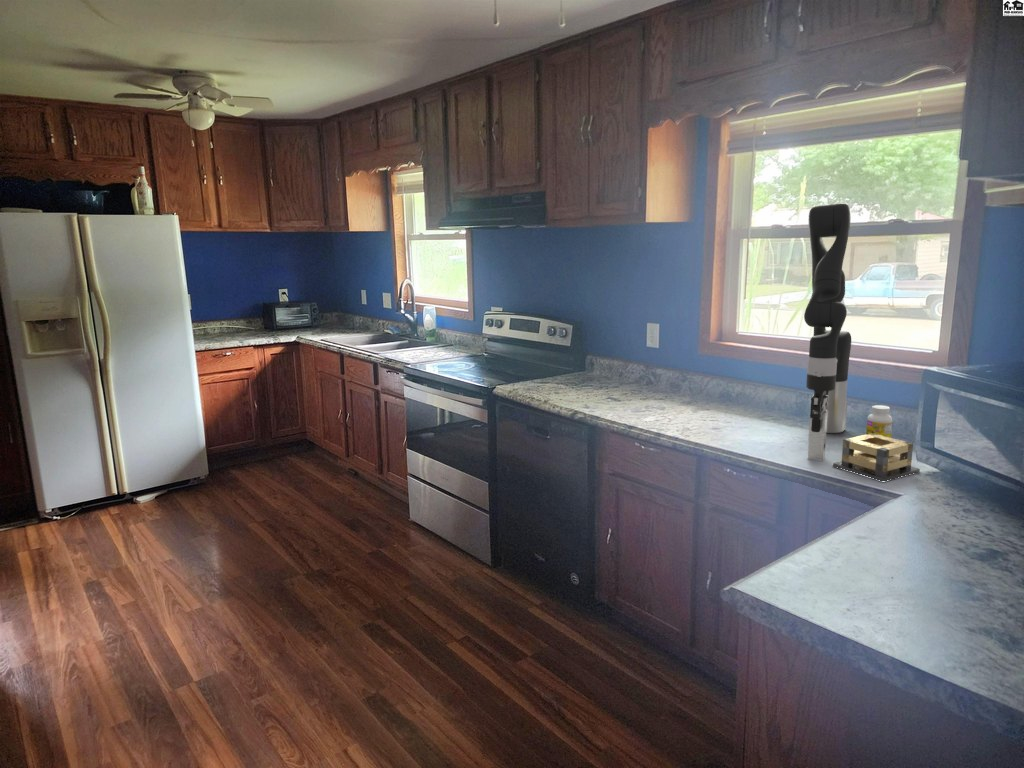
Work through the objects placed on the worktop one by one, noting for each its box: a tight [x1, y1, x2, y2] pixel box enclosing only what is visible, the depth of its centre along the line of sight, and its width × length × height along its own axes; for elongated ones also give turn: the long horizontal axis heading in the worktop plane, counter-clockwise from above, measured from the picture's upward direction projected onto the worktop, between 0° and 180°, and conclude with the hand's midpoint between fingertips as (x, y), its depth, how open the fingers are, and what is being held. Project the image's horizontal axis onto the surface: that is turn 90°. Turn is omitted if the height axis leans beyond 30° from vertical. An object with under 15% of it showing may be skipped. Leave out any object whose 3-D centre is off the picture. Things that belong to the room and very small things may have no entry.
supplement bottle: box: [865, 404, 894, 438], centre depth 198 cm, size 7×7×13 cm
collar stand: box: [832, 433, 921, 482], centre depth 180 cm, size 15×15×8 cm
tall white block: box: [807, 410, 828, 462], centre depth 191 cm, size 4×4×14 cm
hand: (817, 428), depth 190 cm, fingers open, 7 cm apart
